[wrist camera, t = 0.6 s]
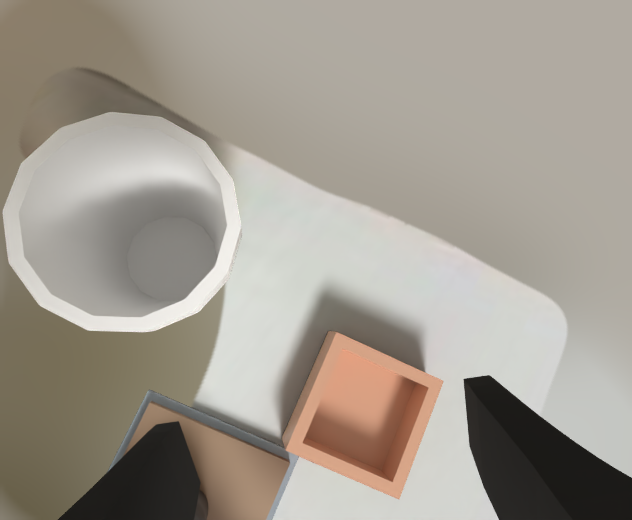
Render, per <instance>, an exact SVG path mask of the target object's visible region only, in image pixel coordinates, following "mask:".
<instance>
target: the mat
mask: <svg viewBox="0 0 632 520" xmlns="http://www.w3.org/2000/svg"><path fill="white" fill-rule="evenodd" d="M151 401H153V402H155V403H157V404H160V405H162V406H164V407H167V408H169V409H171V410H174V411H176V412H178V413H181V414H183V415H185V416H188V417H190V418H192V419H195V420H197V421H199V422H202V423H204V424H206V425H209V426H211V427H213V428H216V429H218V430H220V431H223V432H225V433H227V434H230V435H232V436H234V437H237V438H239V439H241V440H244V441H246V442H248V443H251V444H253V445H255V446H258V447H260V448H262V449H265V450H267V451H269V452H271V453H274V454H276V455H278V456H281V457H283V458H285V459H288V460H290V465H289V467H288V469H287V472H286V474H285V477H284V479H283V481H282V484H281V486H280V488H279V491H278V493H277V495H276V498H275V500H274V502H273V505H272V507H271V509H270V512H269V514H268V516H267V519H266V520H272V519H273V516H274V514H275V512H276V509H277V507H278V505H279V502H280V500H281V498H282V495H283V493H284V490H285V488H286V486H287V483H288V481H289V479H290V476H291V474H292V472H293V469H294V467H295V465H296V462H297V460H298V457H299V456H297V455H295V454H293V453H290V452H288V451H286V450H285V448H284V447H282V446H279V445H277V444H275V443H272V442H270V441H268V440H265V439H263V438H261V437H258V436H256V435H254V434H251V433H249V432H247V431H244V430H242V429H240V428H238V427H235V426H233V425H231V424H228V423H226V422H224V421H221V420H219V419H217V418H214V417H212V416H210V415H207V414H205V413H203V412H200V411H198V410H196V409H194V408H191V407H189V406H187V405H184V404H182V403H180V402H177V401H175V400H172V399H170V398H168V397H166V396H163V395H161V394H159V393H156V392H154V391H152V390H148V392H147V394H146V396H145V398H144V400H143V402H142V404H141V406H140V408H139V410H138V412H137V414H136V416H135V418H134V420H133V422H132V424H131V426H130V428H129V430H128V432H127V434H126V436H125V438H124V440H123V442H122V444H121V446H120V448H119V450H118V452H117V454H116V456H115V458H114V460H113V462H112V464H111V466H110V468H109V470H110V469H111V468H112V467H113V466H114V465H115V464H116V463H117V462H118V461H119V460H120V459H121V458H122V457H123V455H124V453H125V451H126V449H127V447H128V445H129V443H130V441H131V439H132V437H133V435H134V433H135V431H136V429H137V427H138V425H139V423H140V421H141V419H142V417H143V415H144V413H145V411H146V409H147V407H148V405H149V403H150V402H151ZM109 470H108V471H109Z"/></svg>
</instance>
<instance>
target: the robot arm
mask: <svg viewBox="0 0 632 520" xmlns="http://www.w3.org/2000/svg"><path fill="white" fill-rule="evenodd" d="M464 389H465V400H466V411H467V422H468V433H469V444H470V448H471V451H472V454H473V457H474V460H475V463H476V466H477V469H478V472H479V475H480V478H481V480H482V483H483V486H484V488H485V490H486V493H487V495H488V497H489V499H490V501H491V503H492V505H493V508H494V510H495V512H496V514H497V516H498V518H499V520H632V478H631V477H629V476H627V475H626V474H624V473H622V472H621V471H619V470H617V469H615V468H614V467H612V466H610V465H609V464H607V463H606V462H604V461H602V460H601V459H599V458H598V457H596V456H595V455H593V454H592V453H590V452H589V451H587V450H586V449H584V448H583V447H581V446H580V445H578V444H577V443H575V442H574V441H573V440H571V439H570V438H569V437H567V436H566V435H564V434H563V433H562V432H560V431H559V430H558V429H556V428H555V427H554V426H552V425H551V424H550V423H548V422H547V421H546V420H544V419H543V418H542V417H540V416H539V415H538V414H536V413H535V412H534V411H533V410H531V409H530V408H529V407H528V406H526V405H525V404H524V403H523V402H521V401H520V400H519V399H518V398H516V397H515V396H514V395H513V394H512V393H510V392H509V391H508V390H507V389H506V388H504V387H503V386H502V385H501V384H500V383H498V382H497V381H496V380H495V379H493V378H492V377H491V376H489V375H487V376H481V377H474V378H467V379H464ZM200 483H201V482H200V479H199V477H198V474H197V471H196V468H195V465H194V462H193V460H192V457H191V454H190V451H189V448H188V446H187V443H186V440H185V437H184V434H183V431H182V429H181V426H180V423H179V421H176V422H169V423H162V424H156V425H155V426H154V427H153V428H152V429H150V430H149V431H148V432H147V433H146V434H145V435H144V436H143V437H142V438H141V439H140V440H139V441H138V442H137V443H136V444H135V445H134V446H133V447H132V448H131V449H130V450H129V451H128V452H127V453H126V454H125V455H124V456H123V457H122V458H121V459H120V460H119V461H118V462H117V463H116V464H115V465H114V466H113V467H112V468H111V469H110V470H109V471H108V472H107V473H106V474H105V475H104V476H103V477H102V478H101V479H100V480H99V481H98V482H97V483H96V484H95V485H94V486H93V487H92V488H91V489H90V490H89V491H88V492H87V493H86V494H85V495H84V496H83V497H82V498H81V499H80V500H78V501H77V502H76V503H75V504H74V505H73V506H72V507H71V508H70V509H69V510H68V511H67V512H65V514H63V515H62V516H61V517H60V518H59V519H58V520H194V517H195V512H196V507H197V501H198V495H199V489H200Z"/></svg>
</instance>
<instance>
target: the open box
mask: <svg viewBox="0 0 632 520" xmlns="http://www.w3.org/2000/svg"><path fill="white" fill-rule="evenodd" d="M442 384H443V381H442V380H440V379H438V378H436V377H434V376H431V375H429V374H427V373H425V372H423V371H420V370H418V369H416V368H414V367H412V366H410V365H407V364H405V363H403V362H401V361H399V360H397V359H394V358H392V357H390V356H388V355H386V354H384V353H381V352H379V351H377V350H375V349H373V348H371V347H368V346H366V345H364V344H362V343H360V342H358V341H355V340H353V339H351V338H349V337H347V336H345V335H342V334H340V333H338V332H334V331H328V333H327V335H326V337H325V340H324V342H323V344H322V347H321V349H320V351H319V353H318V356H317V358H316V360H315V363H314V365H313V367H312V370H311V372H310V374H309V376H308V379H307V381H306V383H305V386H304V388H303V390H302V392H301V395H300V397H299V399H298V402H297V404H296V406H295V409H294V411H293V413H292V415H291V418H290V420H289V422H288V425H287V427H286V429H285V432H284V434H283V436H282V441H283V444H284V447H285V450H286V451H288V452H290V453H293V454H295V455H297V456H299V457H302V458H304V459H306V460H309V461H311V462H313V463H316V464H318V465H320V466H323V467H325V468H327V469H330V470H332V471H334V472H337V473H339V474H341V475H344V476H346V477H348V478H350V479H353V480H355V481H357V482H360V483H362V484H364V485H367V486H369V487H371V488H374V489H376V490H378V491H381V492H383V493H385V494H388V495H390V496H392V497H395V498H397V499H399V498H400V496H401V493H402V490H403V488H404V485H405V482H406V480H407V477H408V474H409V472H410V469H411V466H412V464H413V461H414V458H415V456H416V453H417V450H418V448H419V445H420V442H421V440H422V437H423V434H424V432H425V429H426V427H427V424H428V421H429V419H430V416H431V413H432V411H433V408H434V405H435V403H436V400H437V397H438V395H439V392H440V389H441V387H442Z"/></svg>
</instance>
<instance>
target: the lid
mask: <svg viewBox="0 0 632 520" xmlns="http://www.w3.org/2000/svg"><path fill="white" fill-rule="evenodd" d="M176 421H179V423H180V426H181V429H182V431H183V434H184V437H185V440H186V443H187V446H188V448H189V451H190V454H191V457H192V460H193V462H194V465H195V468H196V471H197V474H198V477H199V479H200V482H201V483H200V489H199V495H198V501H197V507H196V512H195V517H194V520H266V519H267V516H268V514H269V512H270V509H271V507H272V505H273V502H274V500H275V498H276V495H277V493H278V491H279V488H280V486H281V484H282V481H283V479H284V477H285V474H286V472H287V469H288V467H289V465H290V460H288V459H285V458H283V457H281V456H278V455H276V454H274V453H271V452H269V451H267V450H265V449H262V448H260V447H258V446H255V445H253V444H251V443H248V442H246V441H244V440H241V439H239V438H237V437H234V436H232V435H230V434H227V433H225V432H223V431H220V430H218V429H216V428H213V427H211V426H209V425H206V424H204V423H202V422H199V421H197V420H195V419H192V418H190V417H188V416H185V415H183V414H181V413H178V412H176V411H174V410H171V409H169V408H167V407H164V406H162V405H160V404H157V403H155V402H153V401H151V402H150V403H149V405H148V407H147V409H146V411H145V413H144V415H143V417H142V419H141V421H140V423H139V425H138V427H137V429H136V431H135V433H134V435H133V437H132V439H131V441H130V443H129V445H128V447H127V449H126V451H125V453H124V455H125V454H126V453H127V452H128V451H129V450H130V449H131V448H132V447H133V446H134V445H135V444H136V443H137V442H138V441H139V440H140V439H141V438H142V437H143V436H144V435H145V434H146V433H147V432H148V431H149V430H150V429H152V428H153V427H154V426H155V425H156V424H162V423H169V422H176ZM124 455H123V456H124Z"/></svg>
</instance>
